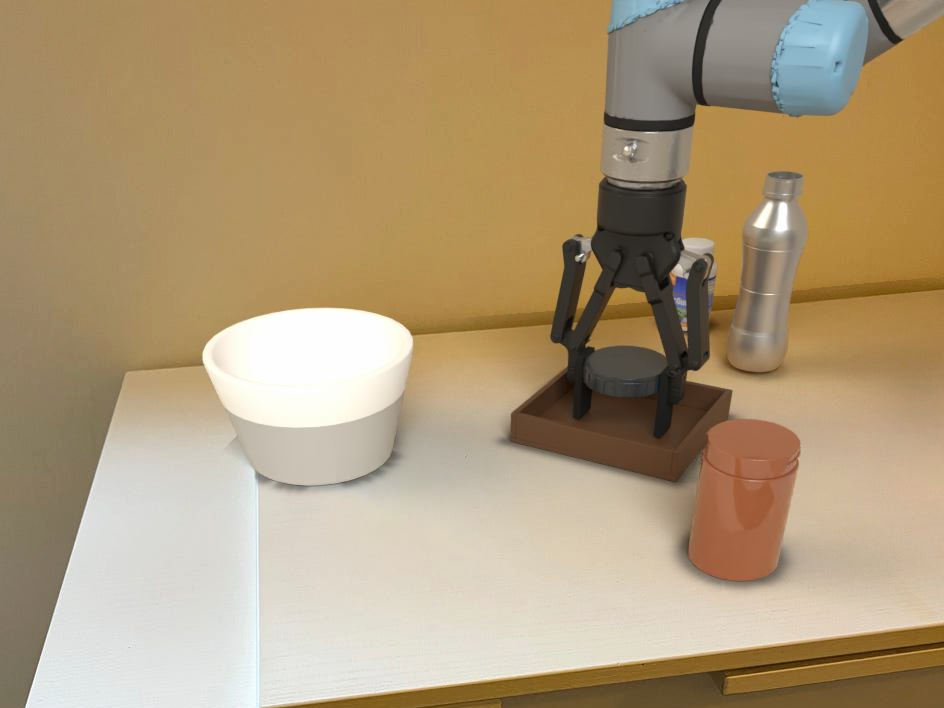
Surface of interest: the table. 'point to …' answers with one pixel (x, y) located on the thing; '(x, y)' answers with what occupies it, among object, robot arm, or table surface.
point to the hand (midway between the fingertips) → (621, 421)
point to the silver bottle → (768, 275)
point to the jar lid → (624, 371)
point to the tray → (621, 427)
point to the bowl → (313, 390)
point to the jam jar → (743, 498)
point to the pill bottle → (679, 282)
